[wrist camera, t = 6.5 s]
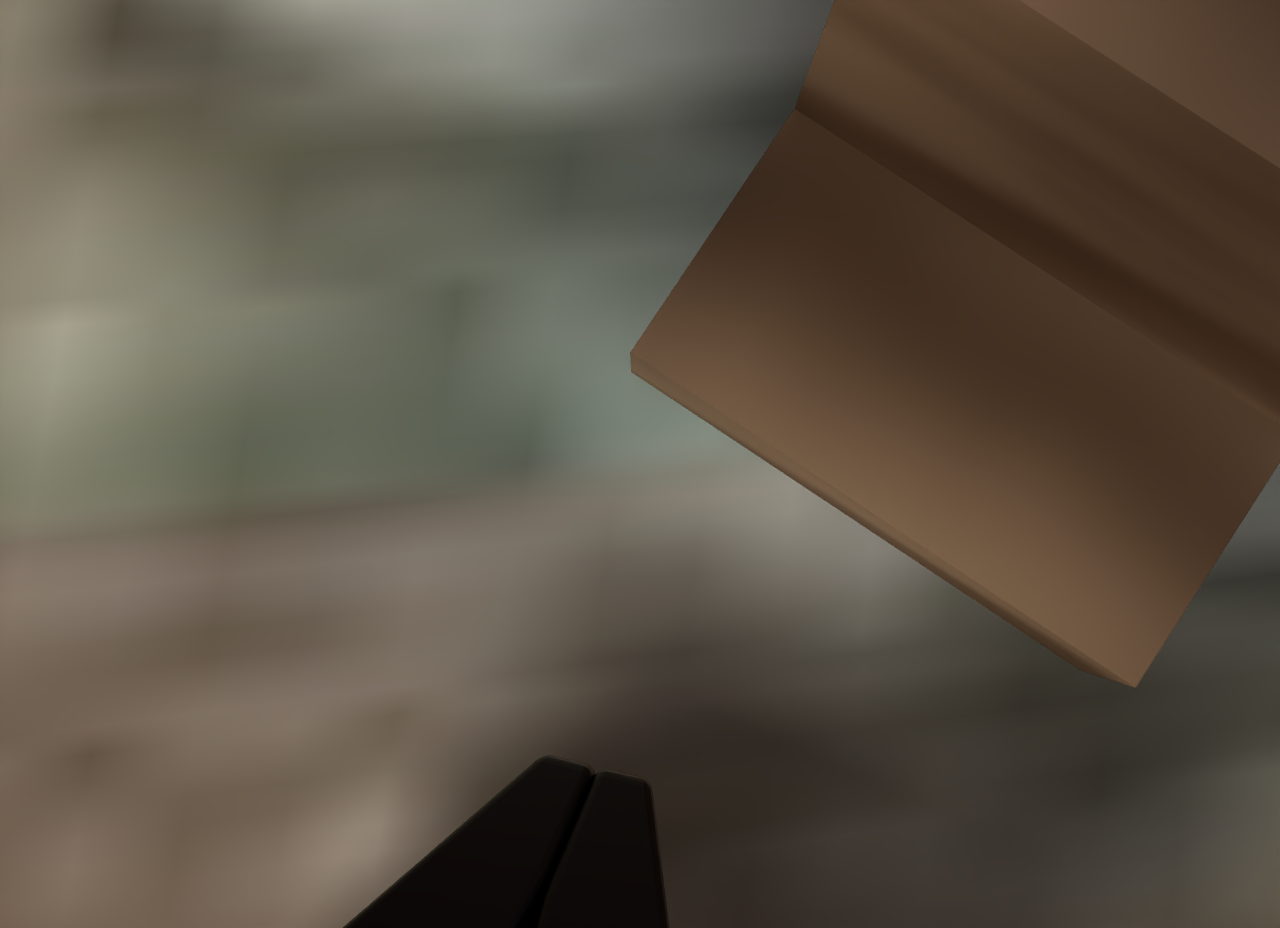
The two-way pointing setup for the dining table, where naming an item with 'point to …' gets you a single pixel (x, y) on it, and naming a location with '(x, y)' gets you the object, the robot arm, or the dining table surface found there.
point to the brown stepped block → (1012, 300)
